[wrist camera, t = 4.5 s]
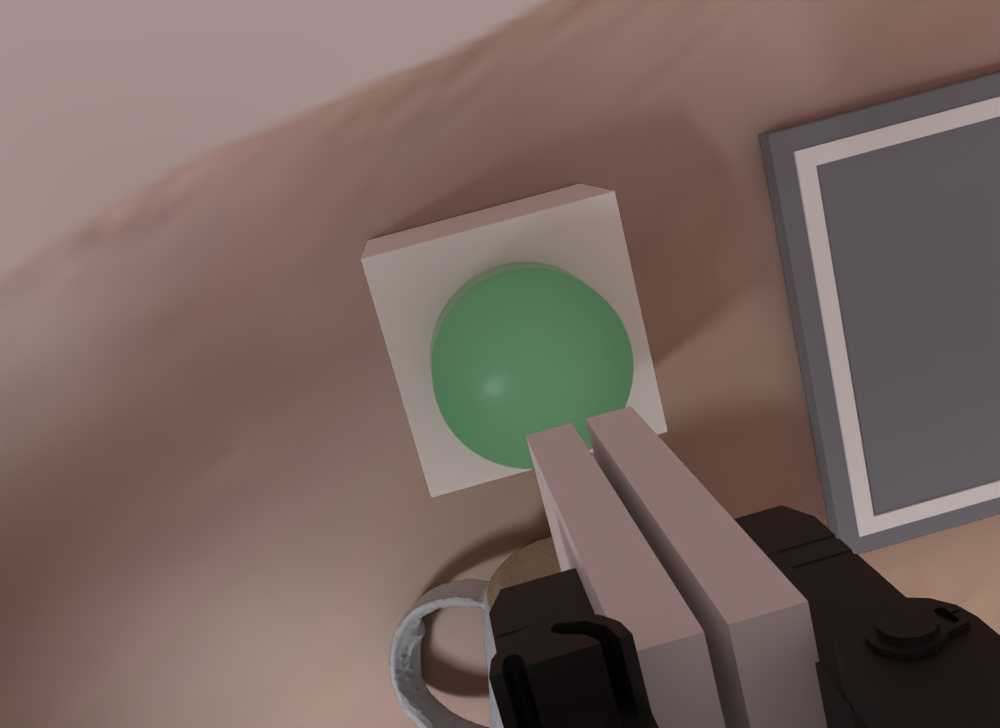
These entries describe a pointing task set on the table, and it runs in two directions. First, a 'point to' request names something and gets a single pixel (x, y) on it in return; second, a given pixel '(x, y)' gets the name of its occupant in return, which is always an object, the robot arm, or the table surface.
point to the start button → (526, 359)
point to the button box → (469, 251)
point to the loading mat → (897, 305)
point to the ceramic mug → (520, 567)
